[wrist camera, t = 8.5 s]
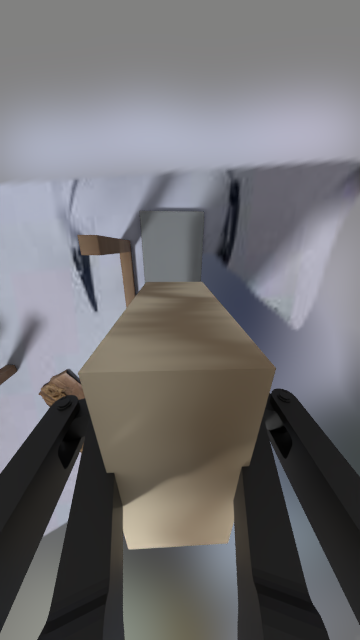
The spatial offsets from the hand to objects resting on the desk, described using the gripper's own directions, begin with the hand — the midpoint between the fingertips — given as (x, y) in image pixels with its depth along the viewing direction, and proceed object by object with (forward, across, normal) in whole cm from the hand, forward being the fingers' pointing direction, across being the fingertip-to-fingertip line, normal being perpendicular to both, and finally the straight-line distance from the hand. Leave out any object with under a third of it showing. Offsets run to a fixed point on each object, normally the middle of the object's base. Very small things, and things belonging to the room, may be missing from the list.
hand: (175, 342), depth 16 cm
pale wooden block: (+1, 0, 0) cm, 1 cm away
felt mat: (+8, 0, 0) cm, 8 cm away
